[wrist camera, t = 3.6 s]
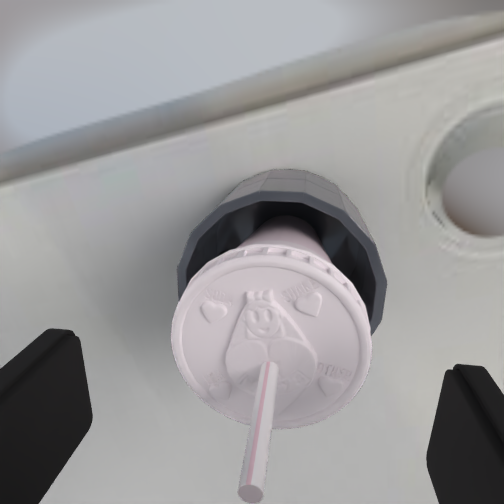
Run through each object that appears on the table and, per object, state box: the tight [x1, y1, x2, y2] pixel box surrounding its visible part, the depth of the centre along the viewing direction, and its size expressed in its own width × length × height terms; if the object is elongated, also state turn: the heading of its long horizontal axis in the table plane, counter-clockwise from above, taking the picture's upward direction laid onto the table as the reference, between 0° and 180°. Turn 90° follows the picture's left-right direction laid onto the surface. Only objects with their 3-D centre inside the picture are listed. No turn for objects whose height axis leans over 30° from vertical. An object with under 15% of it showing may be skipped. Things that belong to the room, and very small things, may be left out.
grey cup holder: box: [177, 169, 387, 336], centre depth 18 cm, size 8×8×6 cm
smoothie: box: [171, 215, 372, 504], centre depth 14 cm, size 6×6×14 cm
